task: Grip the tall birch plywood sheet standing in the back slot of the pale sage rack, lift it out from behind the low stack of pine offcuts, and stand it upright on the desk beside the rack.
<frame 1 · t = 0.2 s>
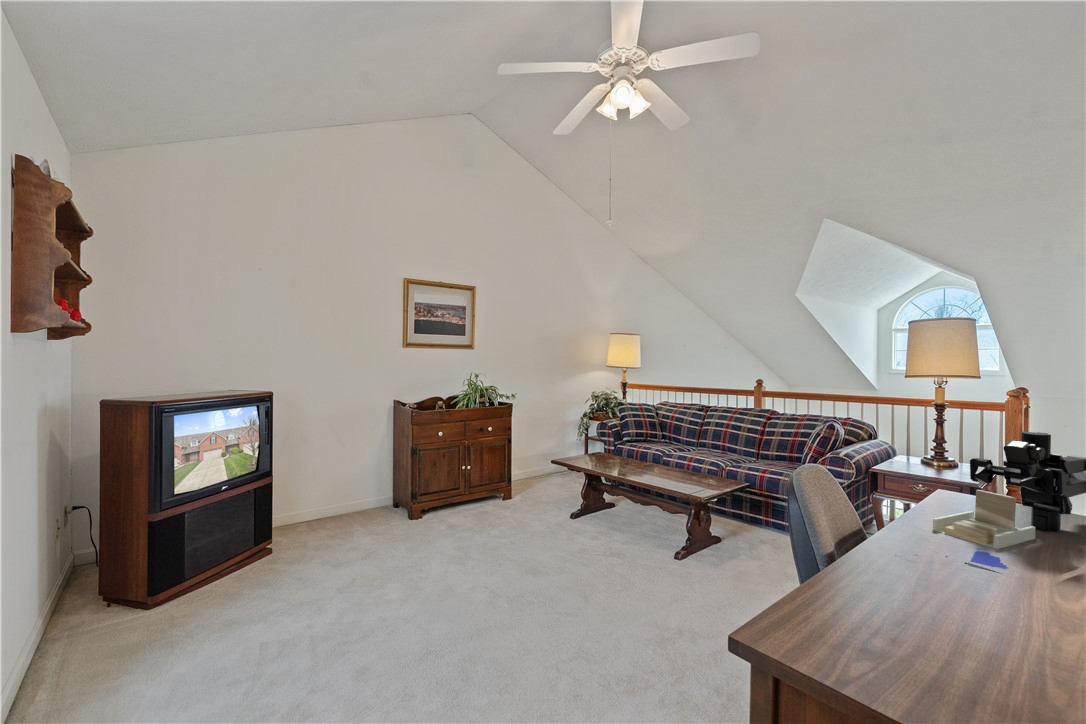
hand: (997, 479, 127), 16 cm above the table, tool horizontal, fingers open, 9 cm apart
birch sheet: (994, 531, 134), point 1 cm above the table, touching rack
offcut bottom: (971, 536, 130), point 1 cm above the table, touching offcut top, rack
offcut top: (974, 531, 130), point 2 cm above the table, touching offcut bottom
hard drive: (993, 566, 116), on the table
rack: (982, 537, 132), on the table
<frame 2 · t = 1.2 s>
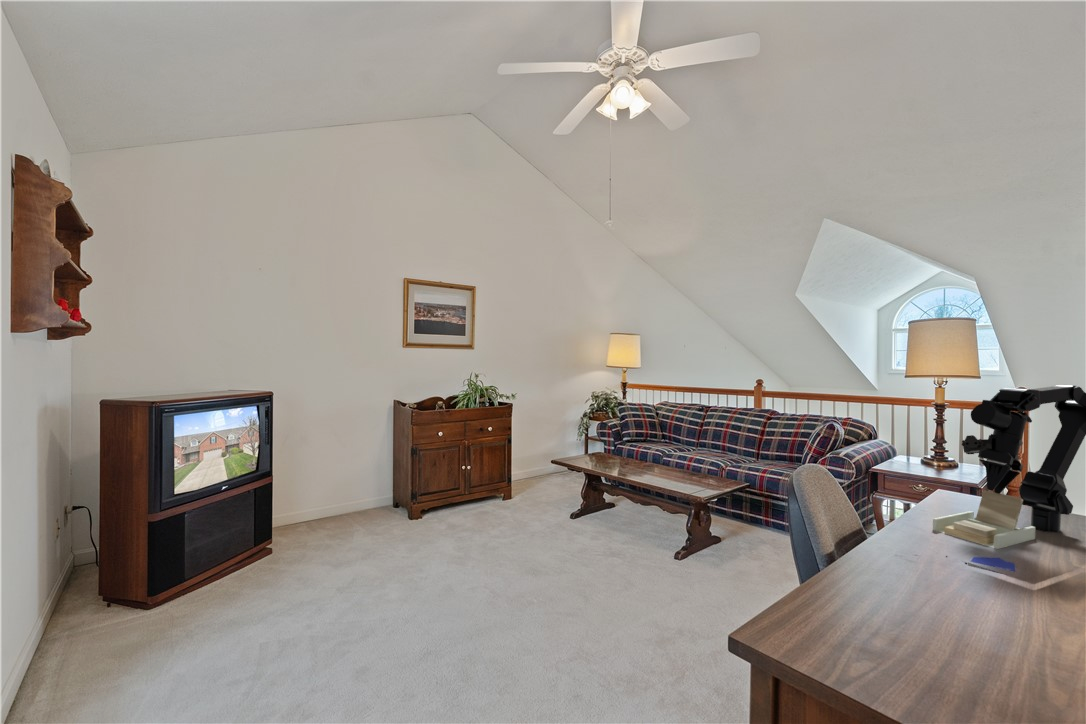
hand: (993, 491, 133), 12 cm above the table, tool tilted 15°, fingers open, 9 cm apart
birch sheet: (993, 530, 134), point 1 cm above the table, tilted 25°, touching rack
everything else where it was.
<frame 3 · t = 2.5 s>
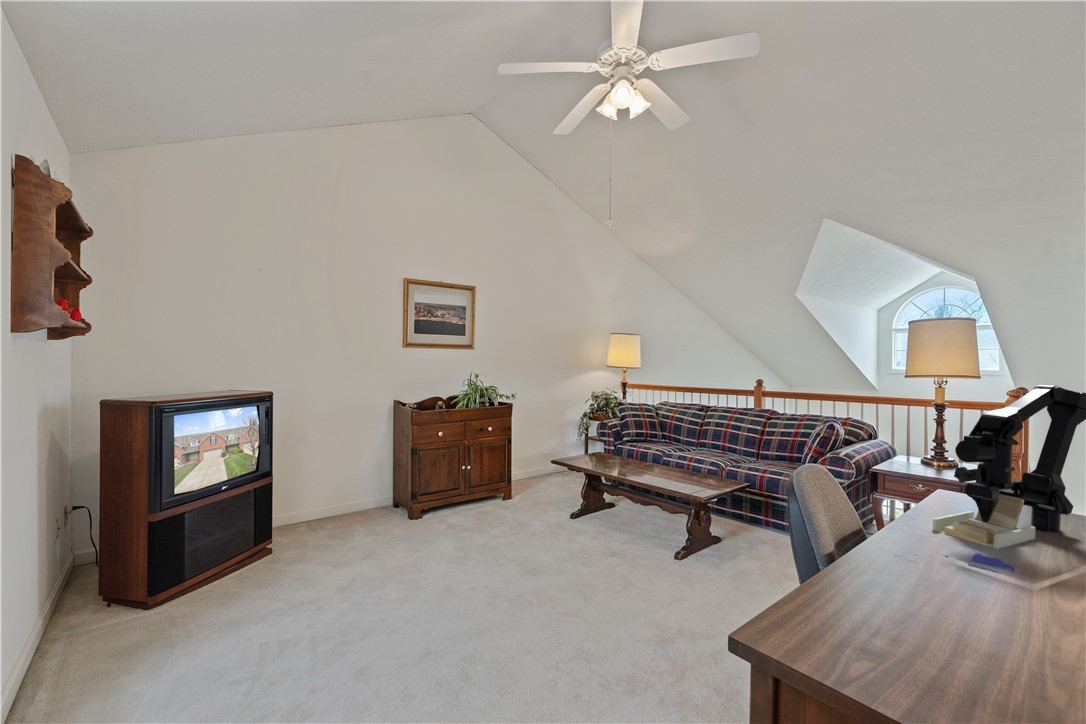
hand: (994, 520, 134), 4 cm above the table, tool pointing down, fingers open, 9 cm apart
birch sheet: (993, 530, 134), point 1 cm above the table, tilted 30°, touching gripper, rack
everything else where it was.
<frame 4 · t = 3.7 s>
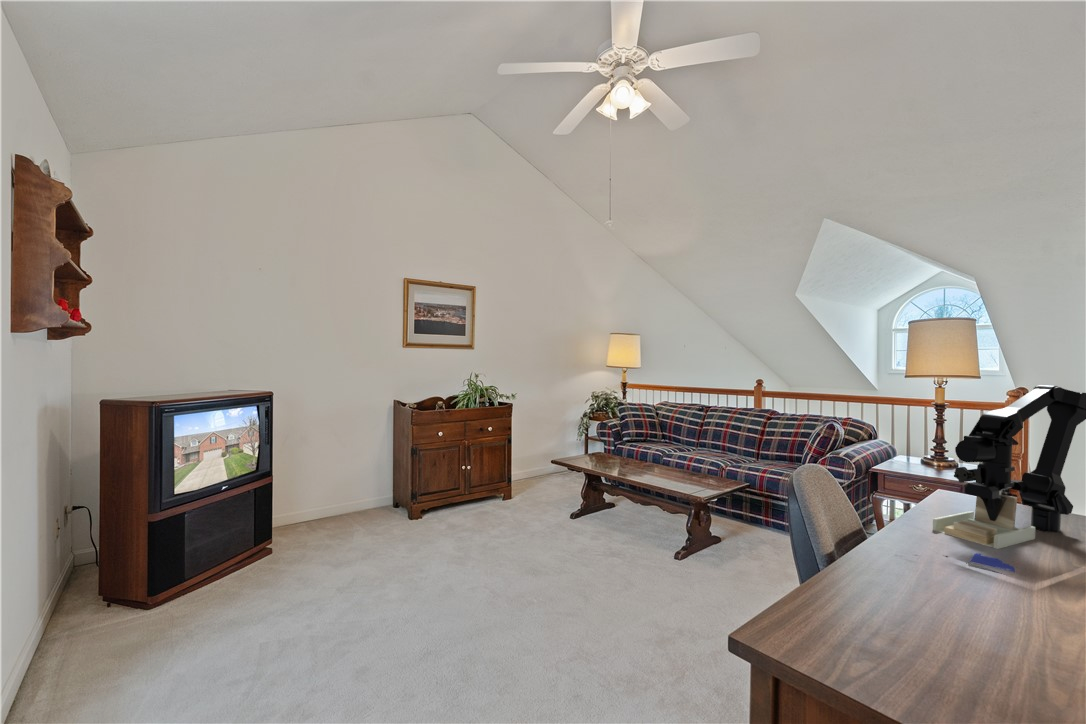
hand: (994, 520, 134), 4 cm above the table, tool pointing down, fingers closed on birch sheet
birch sheet: (993, 531, 134), point 1 cm above the table, tilted 6°, touching gripper, rack
everything else where it was.
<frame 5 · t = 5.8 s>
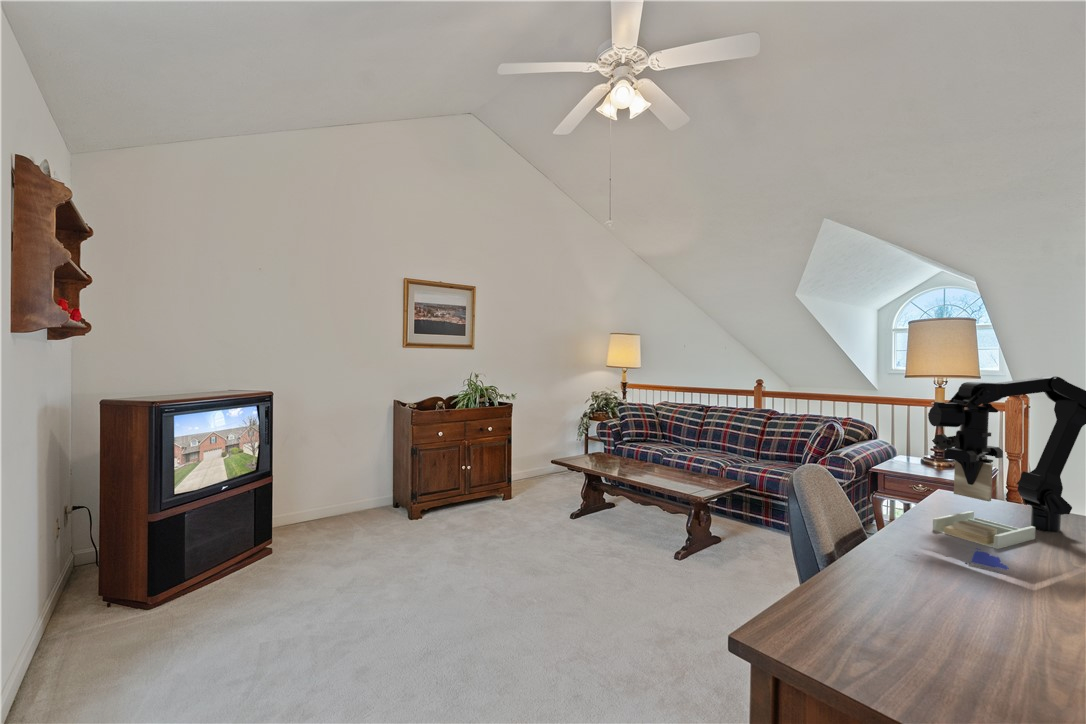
hand: (972, 484, 140), 12 cm above the table, tool pointing down, fingers closed on birch sheet
birch sheet: (971, 497, 140), point 8 cm above the table, touching gripper
everything else where it was.
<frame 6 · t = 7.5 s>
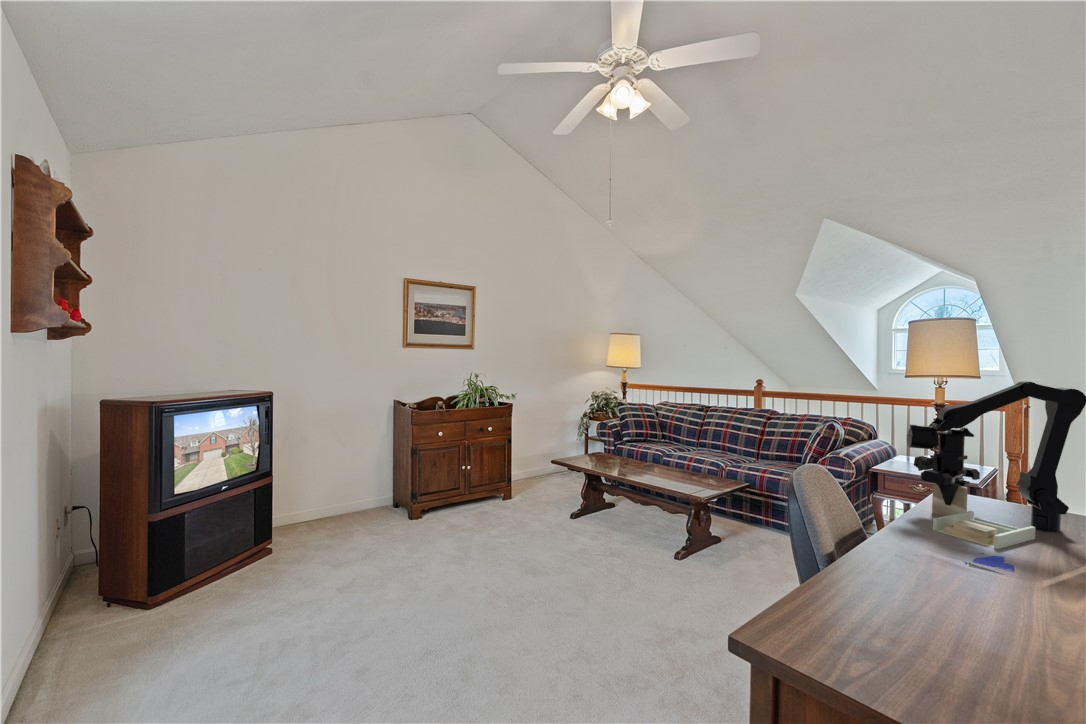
hand: (949, 504, 146), 4 cm above the table, tool pointing down, fingers closed on birch sheet
birch sheet: (948, 518, 147), on the table, touching gripper
everything else where it was.
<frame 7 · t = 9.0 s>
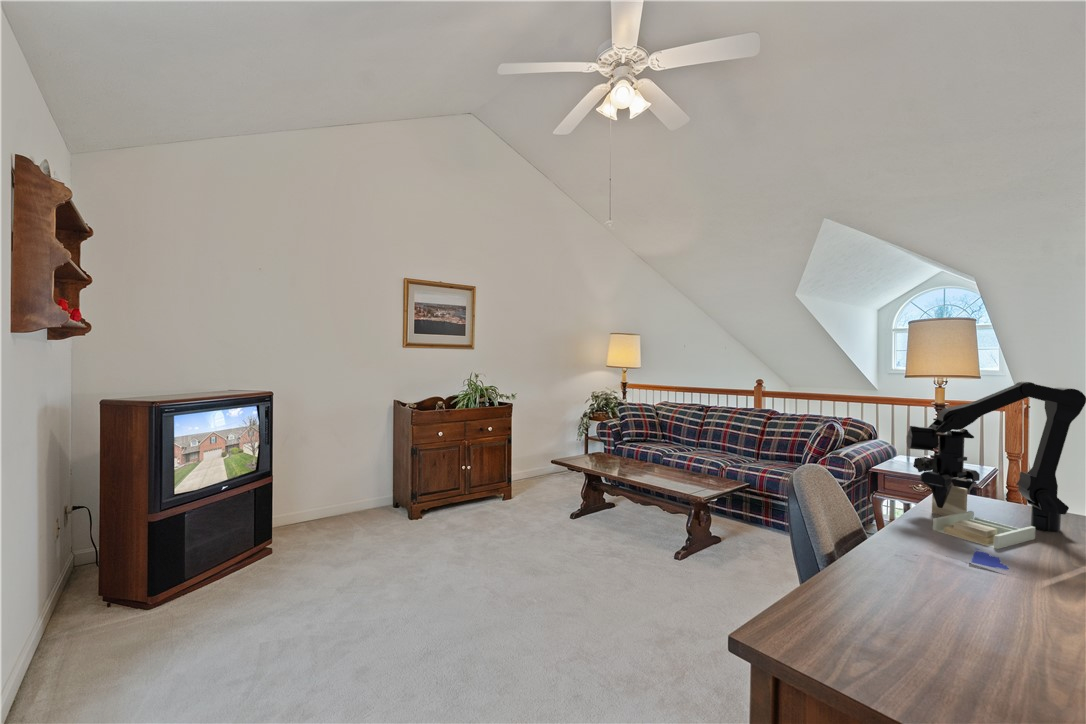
hand: (949, 505, 147), 4 cm above the table, tool pointing down, fingers open, 9 cm apart
birch sheet: (948, 519, 147), on the table
everything else where it was.
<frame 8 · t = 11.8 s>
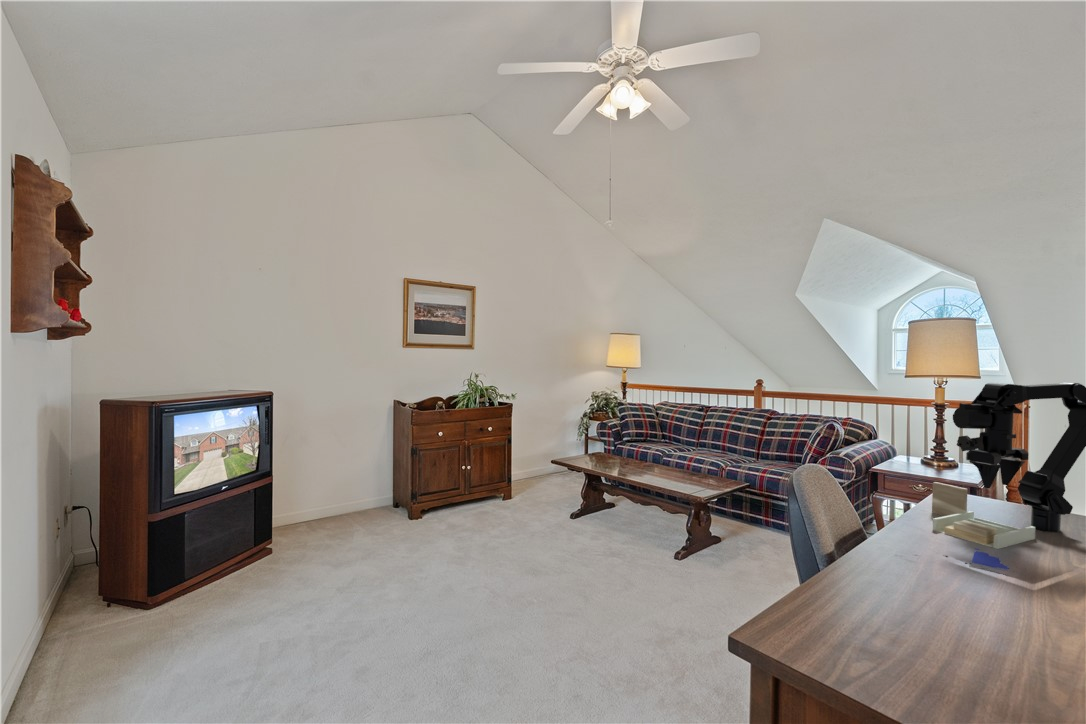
hand: (996, 486, 138), 12 cm above the table, tool pointing down, fingers open, 9 cm apart
nothing on the table moved.
at the end: birch sheet inside the target area (0.1 cm from its centre), on the table; birch sheet tilted 0°; offcut top moved 0.0 cm from its start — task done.
